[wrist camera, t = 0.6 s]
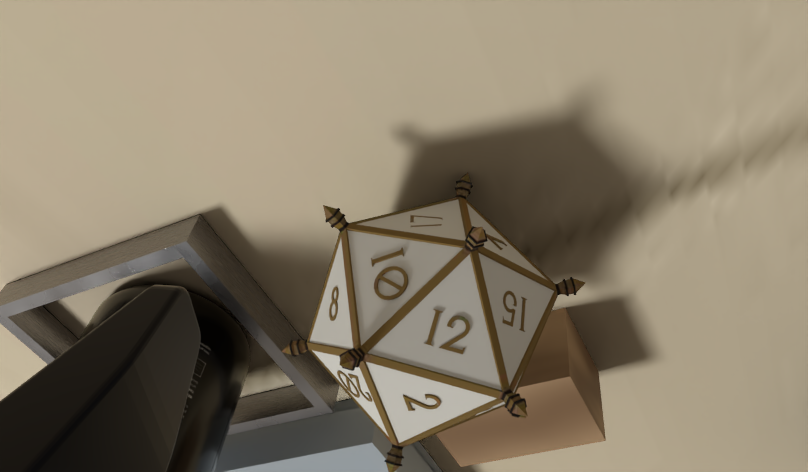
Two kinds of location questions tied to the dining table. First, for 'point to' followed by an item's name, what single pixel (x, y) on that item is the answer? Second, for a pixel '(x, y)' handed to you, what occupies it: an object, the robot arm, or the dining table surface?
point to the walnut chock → (539, 404)
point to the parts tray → (319, 446)
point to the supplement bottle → (201, 381)
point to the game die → (429, 318)
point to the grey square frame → (226, 279)
